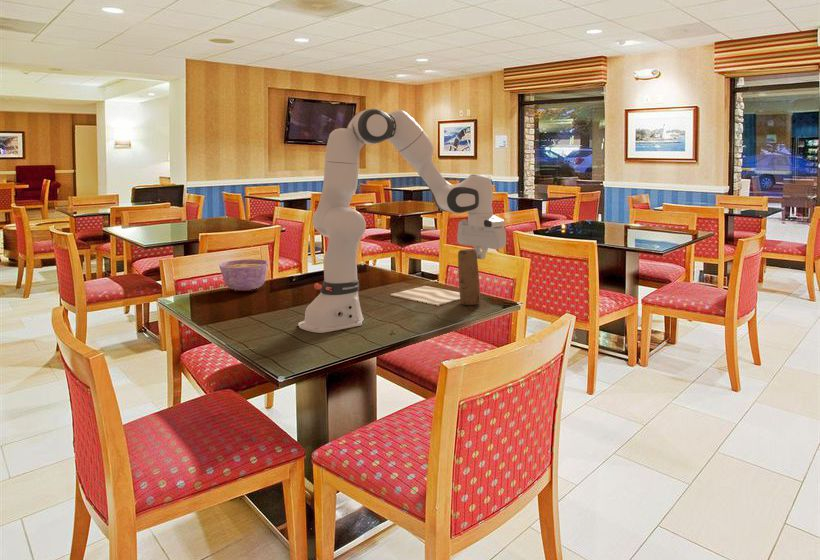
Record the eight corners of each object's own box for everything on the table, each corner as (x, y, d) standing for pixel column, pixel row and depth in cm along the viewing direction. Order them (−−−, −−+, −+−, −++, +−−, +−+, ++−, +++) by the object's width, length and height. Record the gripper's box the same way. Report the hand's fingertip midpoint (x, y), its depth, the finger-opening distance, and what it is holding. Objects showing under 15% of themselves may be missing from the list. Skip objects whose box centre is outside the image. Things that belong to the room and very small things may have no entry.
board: (438, 306, 227) (438, 304, 227) (390, 295, 245) (390, 294, 245) (473, 296, 241) (473, 294, 241) (425, 287, 259) (425, 285, 259)
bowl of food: (280, 288, 264) (278, 261, 261) (245, 297, 247) (242, 269, 245) (247, 283, 274) (245, 257, 272) (211, 292, 258) (208, 265, 255)
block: (480, 305, 223) (477, 250, 221) (460, 306, 224) (456, 251, 221) (480, 299, 234) (476, 247, 231) (460, 301, 235) (456, 248, 232)
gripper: (452, 219, 225) (453, 257, 227) (497, 223, 210) (497, 263, 213) (464, 218, 229) (465, 254, 232) (508, 221, 214) (509, 260, 217)
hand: (481, 258), depth 222 cm, fingers closed
